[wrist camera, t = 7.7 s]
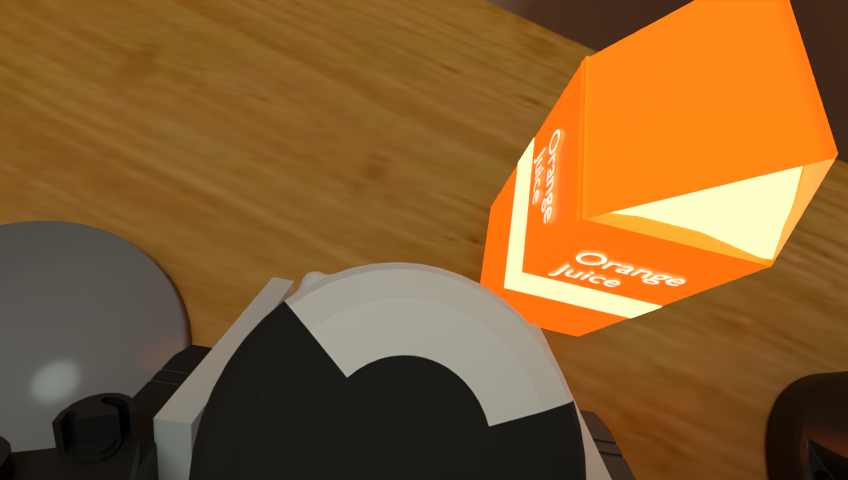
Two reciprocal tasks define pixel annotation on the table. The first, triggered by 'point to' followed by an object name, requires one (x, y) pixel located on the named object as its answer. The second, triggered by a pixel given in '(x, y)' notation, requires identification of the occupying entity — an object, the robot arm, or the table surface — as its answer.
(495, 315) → the container
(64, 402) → the slate plate
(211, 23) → the table surface
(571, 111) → the orange juice
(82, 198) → the table surface
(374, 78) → the table surface
